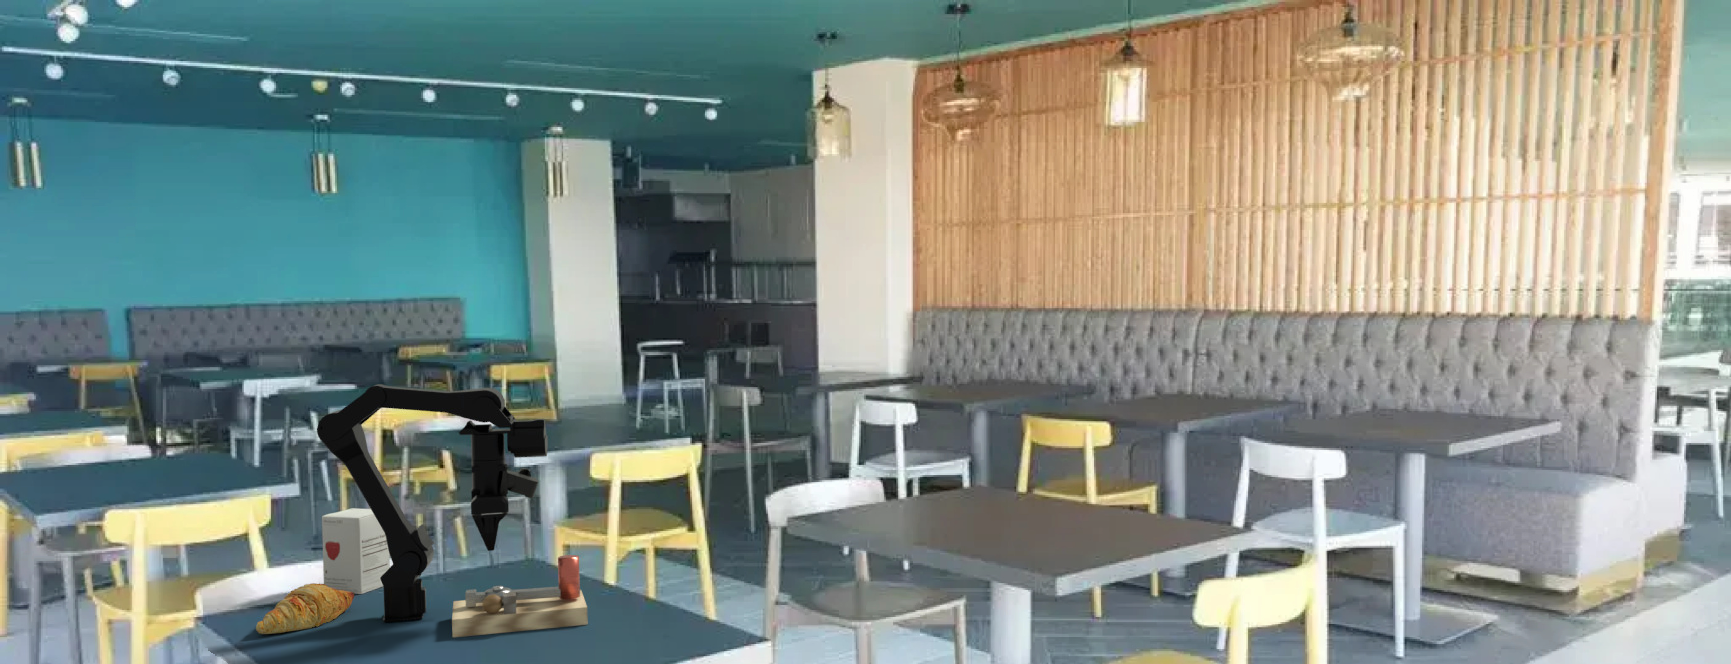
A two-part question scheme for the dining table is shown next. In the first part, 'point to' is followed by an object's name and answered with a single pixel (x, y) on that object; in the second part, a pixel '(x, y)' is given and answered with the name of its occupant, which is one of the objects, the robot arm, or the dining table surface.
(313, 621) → the croissant
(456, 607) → the block
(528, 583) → the dining table surface
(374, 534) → the supplement box
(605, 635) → the dining table surface
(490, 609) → the walnut
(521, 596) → the lever
